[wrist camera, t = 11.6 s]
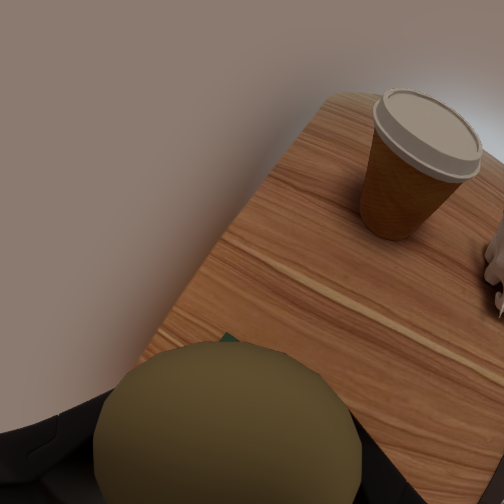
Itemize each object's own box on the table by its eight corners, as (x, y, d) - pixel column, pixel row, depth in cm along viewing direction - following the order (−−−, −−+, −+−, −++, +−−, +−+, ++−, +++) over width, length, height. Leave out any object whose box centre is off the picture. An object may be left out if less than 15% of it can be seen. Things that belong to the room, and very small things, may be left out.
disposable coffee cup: (436, 212, 26) (489, 132, 16) (408, 275, 23) (483, 189, 12) (367, 166, 29) (397, 75, 19) (324, 216, 26) (355, 108, 15)
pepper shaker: (196, 480, 11) (91, 587, 1) (179, 375, 14) (37, 312, 4) (313, 464, 11) (421, 562, 2) (292, 359, 14) (367, 264, 4)
